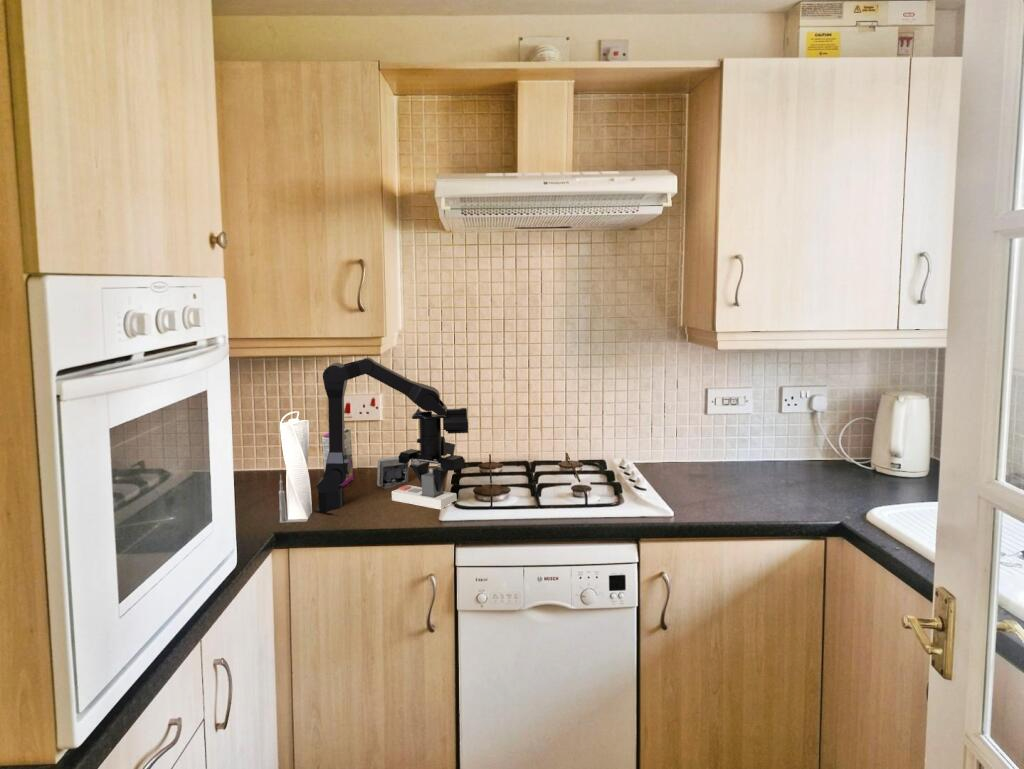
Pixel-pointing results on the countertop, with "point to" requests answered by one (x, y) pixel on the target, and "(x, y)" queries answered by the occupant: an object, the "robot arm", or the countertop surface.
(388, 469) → the electrical switch
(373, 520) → the countertop surface
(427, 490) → the block
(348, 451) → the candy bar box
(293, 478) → the skyscraper
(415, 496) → the power strip
